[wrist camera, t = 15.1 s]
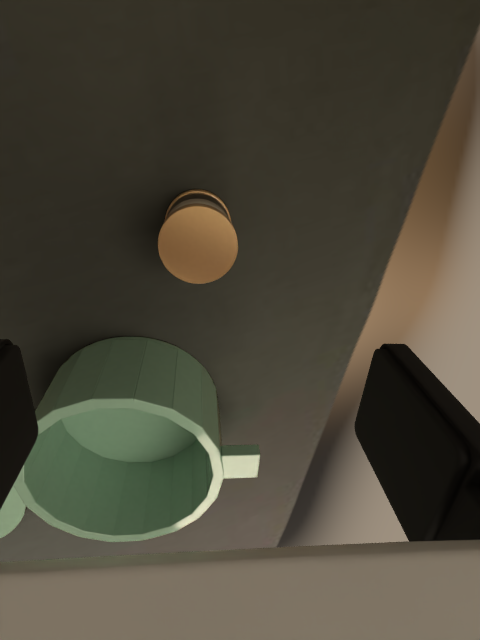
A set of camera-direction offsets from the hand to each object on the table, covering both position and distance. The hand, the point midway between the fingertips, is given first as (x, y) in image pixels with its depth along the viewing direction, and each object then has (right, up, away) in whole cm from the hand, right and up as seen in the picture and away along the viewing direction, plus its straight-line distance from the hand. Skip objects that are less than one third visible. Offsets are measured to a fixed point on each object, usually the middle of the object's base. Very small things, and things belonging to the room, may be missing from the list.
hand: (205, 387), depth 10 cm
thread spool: (-2, +8, +15) cm, 18 cm away
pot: (-8, -6, +22) cm, 24 cm away
